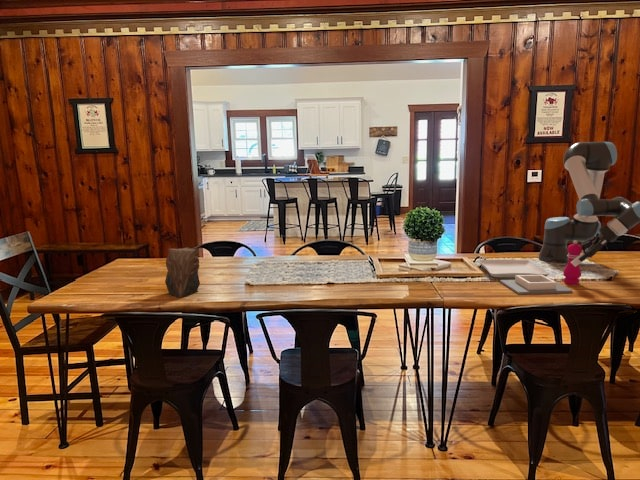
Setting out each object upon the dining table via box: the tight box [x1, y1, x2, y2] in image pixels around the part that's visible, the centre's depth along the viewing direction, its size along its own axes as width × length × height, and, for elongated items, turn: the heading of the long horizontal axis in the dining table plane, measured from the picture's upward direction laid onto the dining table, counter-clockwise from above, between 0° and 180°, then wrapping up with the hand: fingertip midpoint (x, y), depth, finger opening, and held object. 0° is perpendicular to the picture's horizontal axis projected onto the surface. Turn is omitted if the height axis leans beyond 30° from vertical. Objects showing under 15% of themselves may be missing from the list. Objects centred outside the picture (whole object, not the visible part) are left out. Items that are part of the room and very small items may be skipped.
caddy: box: [499, 275, 573, 295], centre depth 206 cm, size 18×24×4 cm
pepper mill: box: [562, 240, 583, 286], centre depth 210 cm, size 7×7×20 cm
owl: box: [164, 246, 201, 299], centre depth 203 cm, size 13×13×20 cm
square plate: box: [477, 259, 550, 279], centre depth 230 cm, size 27×27×4 cm
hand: (570, 261), depth 210 cm, fingers open, 13 cm apart
